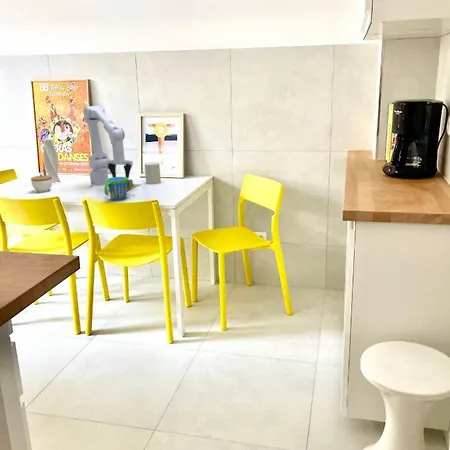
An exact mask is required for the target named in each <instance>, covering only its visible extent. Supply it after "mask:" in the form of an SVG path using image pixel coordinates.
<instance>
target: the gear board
mask: <svg viewBox="0 0 450 450" xmlns="http://www.w3.org/2000/svg"><path fill="white" fill-rule="evenodd" d="M142 185H143V184H141V183H139V184H135V183H133V186H132V187H131V188H130V189H127V192H130V191H132V190H134V189H135V188H138V187H140V186H142ZM107 190H108V192H109V189H107Z"/></svg>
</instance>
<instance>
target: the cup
mask: <svg viewBox="0 0 450 450" xmlns="http://www.w3.org/2000/svg"><path fill="white" fill-rule="evenodd" d="M160 166H161V165H160V162H157V161H155V162H154V161H153V162H151V161H150V162H146V163H144V172H145V183H146V185H156V184H160V183H161V182H162V180H161V167H160Z"/></svg>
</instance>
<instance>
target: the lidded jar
mask: <svg viewBox="0 0 450 450" xmlns="http://www.w3.org/2000/svg"><path fill="white" fill-rule="evenodd" d="M30 180H31V184H32V188H33V189H34V190H35V191H36V192H37V193H45V192H44V191H47V192H49V191H50V189H52V186H53V184H52V176H49V175H48V174H46V175H44V174H43V175H42V173H40V174H39V175H35V176H32V177H31V178H30ZM48 190H49V191H48Z"/></svg>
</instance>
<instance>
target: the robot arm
mask: <svg viewBox="0 0 450 450" xmlns="http://www.w3.org/2000/svg"><path fill="white" fill-rule="evenodd" d="M83 118H84V122H85V123H87V127H88V132H89V137H90V142H91V146H92V151H93V153H92V154H91V155H90V156H89V167H90V169H91V171H90V172H89V179H90V187H94V186H95V185H96V186H105V184H106V180H107V179H108V178H109V174H108V170H109V171H110V173H111V177H112V178H113V177H117V172H116V171H117V170H116V168H117V165H118V166H120V165H123V169H124V173H125V174H124V175H125V176H124V177H127V178H128V179H129V178H130V173H131V170H132V167H133V164H134V162H133V160H127V159H126V158H125V150H124V149H125V148H124V139H125V137H126V136H125V135H126V134H125V130H124V129H123V128H120V127H118V126H117V125H116V123H114V121H113V120H112V119H109V118H108V117H107V115H106V113H105V108H104V107H103V105H102V104H101V105H100V104H99V105H91V106H88V105H86V106H84V107H83ZM99 122H101V123H102V125H103V129H104V130H105V131H106V132H107V134H108V137H109V138H108V139H109V140H110V145H111V147H112V156H113V159H112V160H111V159H110V158H109V155H108V154H107V153H105V152H104V150H103V146H102V141H101V137H100V132H99V131H100V130H99V127H98V123H99ZM125 159H126V160H125Z"/></svg>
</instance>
